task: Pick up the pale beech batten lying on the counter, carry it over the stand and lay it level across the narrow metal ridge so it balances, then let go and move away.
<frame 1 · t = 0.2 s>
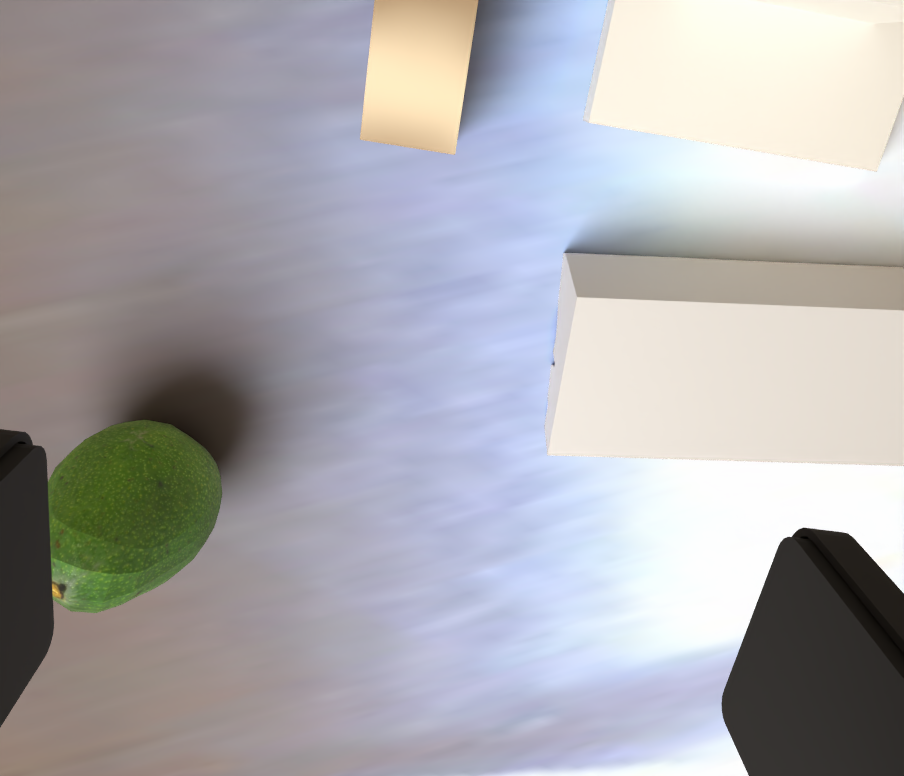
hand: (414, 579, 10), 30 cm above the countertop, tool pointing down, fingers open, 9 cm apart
decorative molding: (857, 357, 43), on the countertop
fruit: (165, 456, 43), on the countertop
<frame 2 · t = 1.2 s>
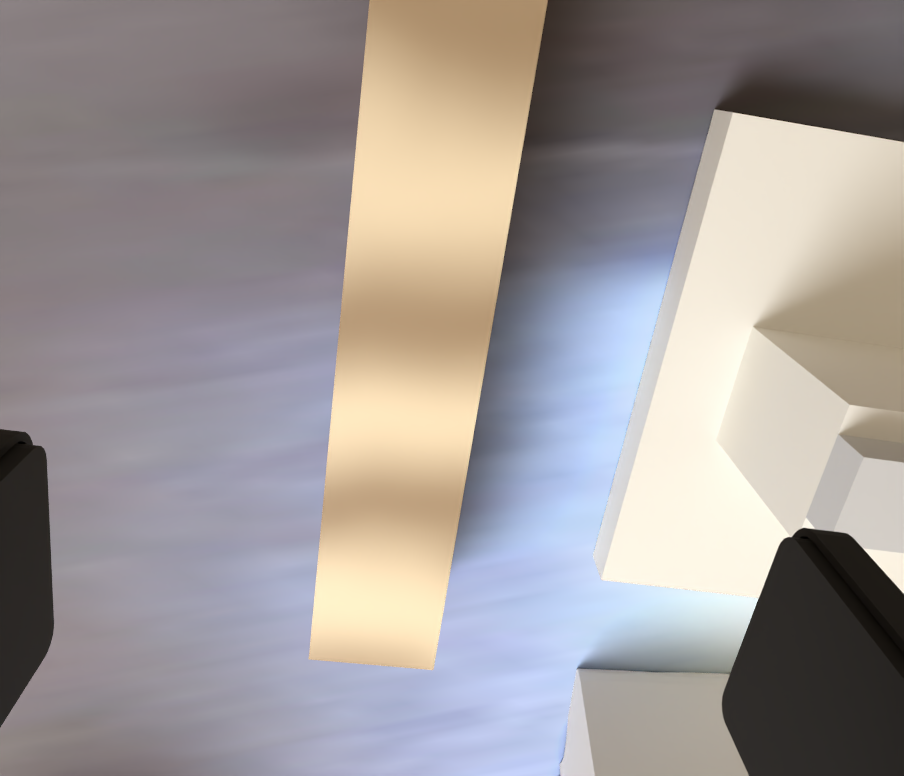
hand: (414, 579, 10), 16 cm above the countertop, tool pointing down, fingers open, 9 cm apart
beech batten: (418, 262, 25), on the countertop
balance stand: (841, 385, 27), on the countertop
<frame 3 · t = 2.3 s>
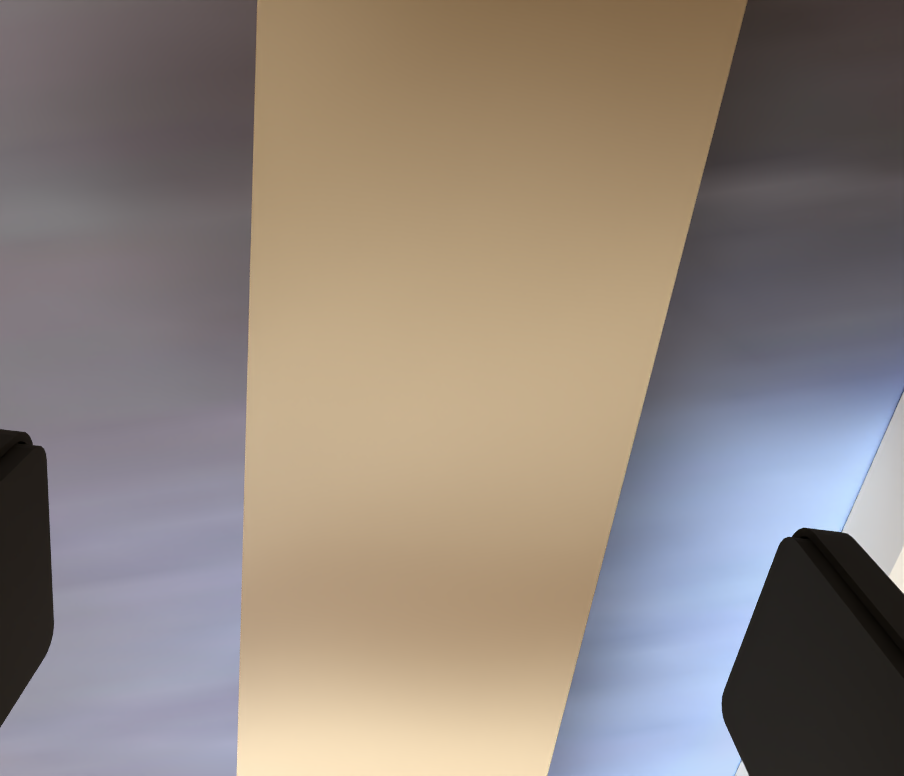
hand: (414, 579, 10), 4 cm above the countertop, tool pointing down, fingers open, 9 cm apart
beech batten: (423, 390, 13), on the countertop
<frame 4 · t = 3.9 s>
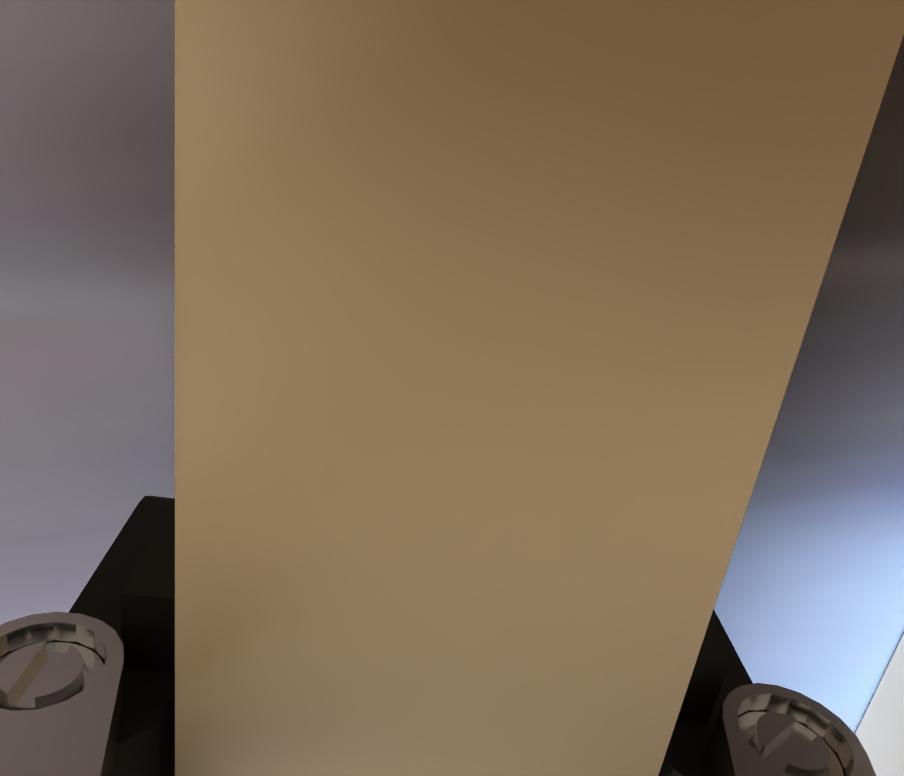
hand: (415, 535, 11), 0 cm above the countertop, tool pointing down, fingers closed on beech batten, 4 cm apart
beech batten: (416, 514, 11), on the countertop, touching gripper
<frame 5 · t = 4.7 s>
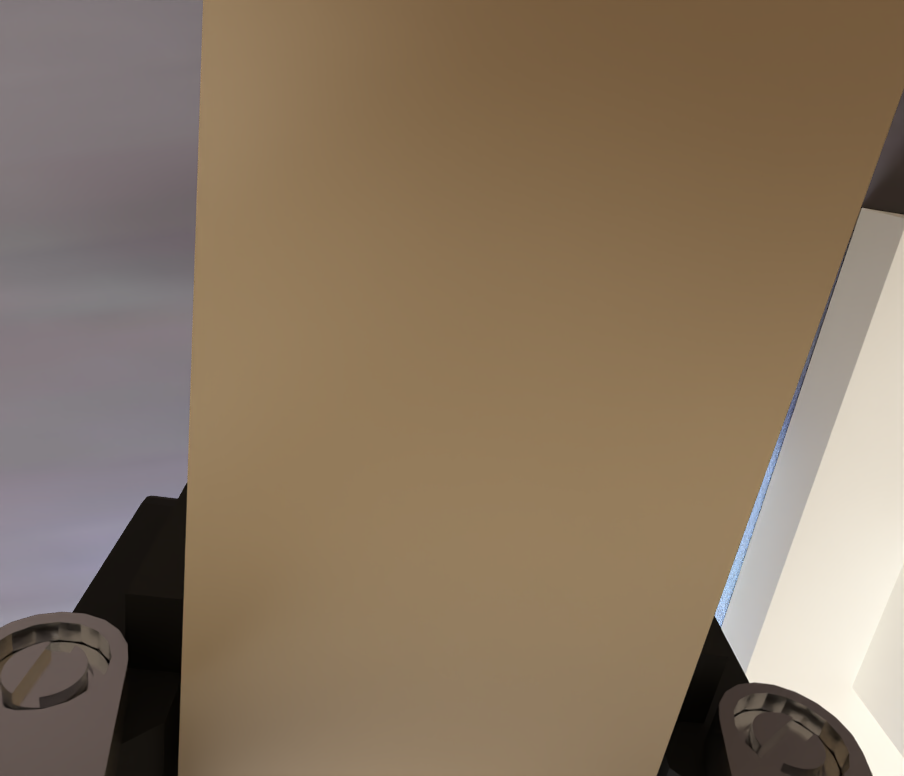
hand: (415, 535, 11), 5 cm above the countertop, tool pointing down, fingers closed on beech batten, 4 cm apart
beech batten: (416, 511, 11), point 5 cm above the countertop, touching gripper
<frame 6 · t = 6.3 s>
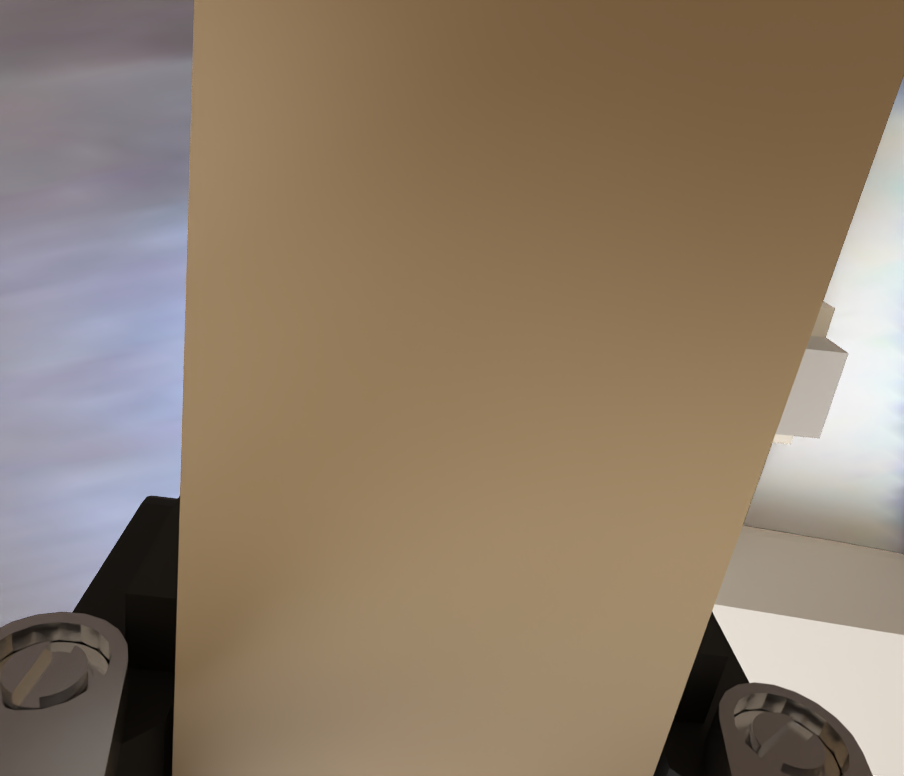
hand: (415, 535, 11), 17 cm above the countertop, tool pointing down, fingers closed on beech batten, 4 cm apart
decorative molding: (775, 627, 35), on the countertop
beech batten: (413, 514, 11), point 17 cm above the countertop, touching gripper
balance stand: (593, 285, 28), on the countertop
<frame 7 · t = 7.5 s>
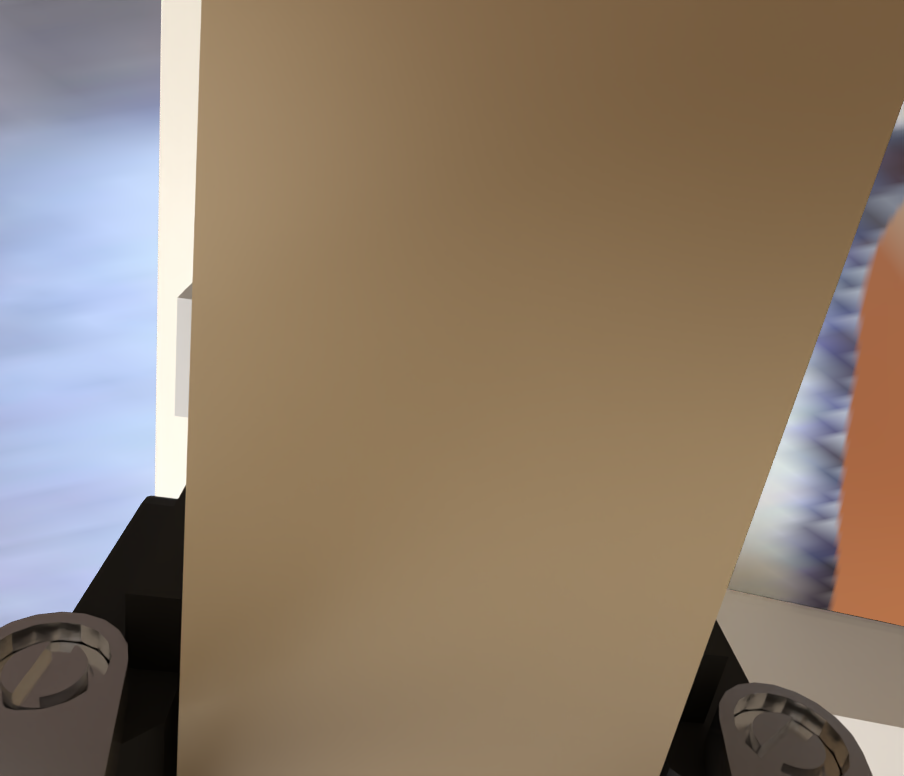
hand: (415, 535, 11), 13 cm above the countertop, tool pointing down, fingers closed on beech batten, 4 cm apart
decorative molding: (652, 679, 31), on the countertop
beech batten: (415, 516, 11), point 13 cm above the countertop, touching gripper
balance stand: (416, 272, 23), on the countertop
when the fingers open (10 cm above the countertop, at t = 9.0 s): beech batten drops 1 cm, resting on balance stand.
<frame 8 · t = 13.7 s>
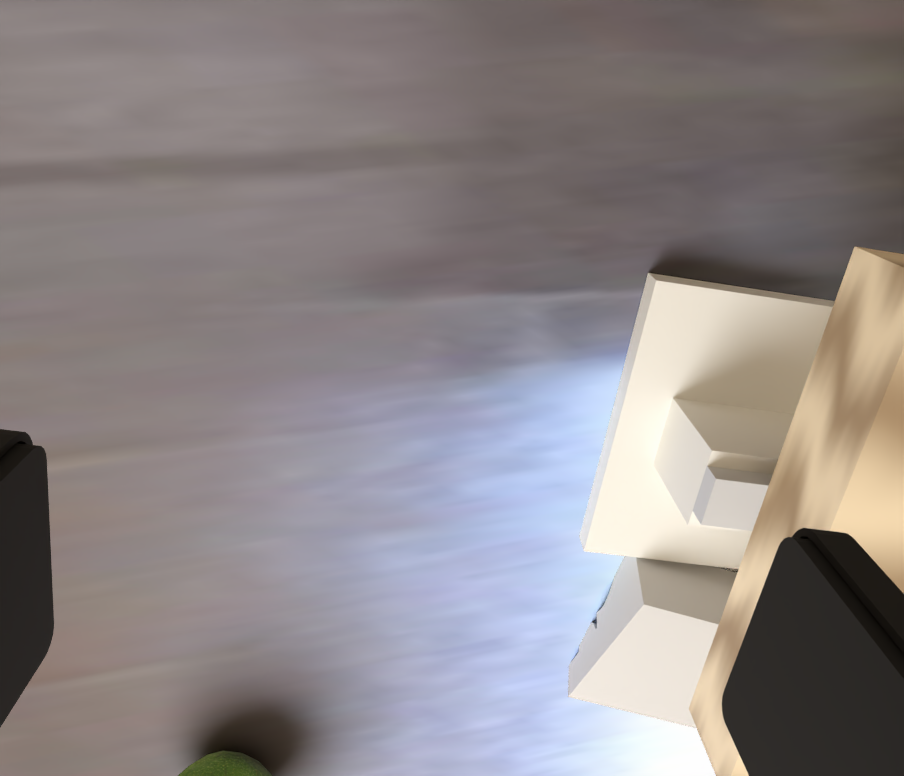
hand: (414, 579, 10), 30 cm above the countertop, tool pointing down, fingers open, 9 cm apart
decorative molding: (830, 667, 51), on the countertop
beech batten: (802, 512, 35), point 9 cm above the countertop, touching balance stand
balance stand: (732, 430, 43), on the countertop
fruit: (233, 765, 52), on the countertop
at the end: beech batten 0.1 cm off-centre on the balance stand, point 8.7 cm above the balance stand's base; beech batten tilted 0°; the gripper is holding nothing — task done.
